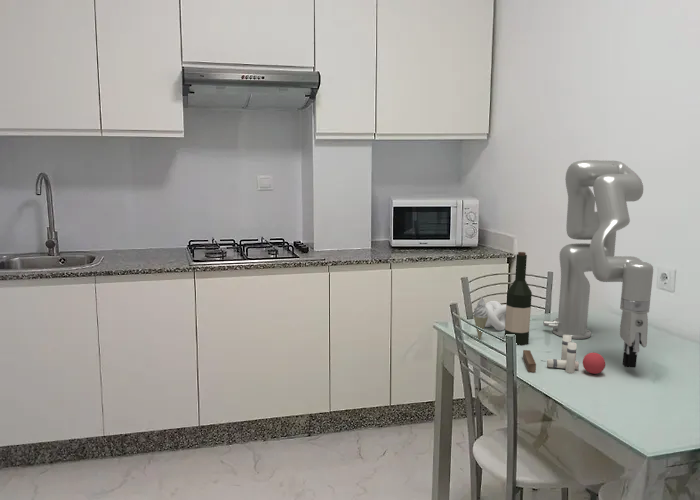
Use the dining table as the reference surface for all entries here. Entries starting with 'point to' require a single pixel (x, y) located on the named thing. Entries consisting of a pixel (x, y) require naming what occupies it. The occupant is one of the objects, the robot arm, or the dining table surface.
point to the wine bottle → (519, 303)
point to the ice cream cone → (480, 316)
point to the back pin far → (565, 346)
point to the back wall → (529, 361)
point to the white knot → (496, 315)
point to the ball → (594, 363)
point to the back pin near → (571, 357)
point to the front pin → (560, 363)
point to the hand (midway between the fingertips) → (629, 366)
